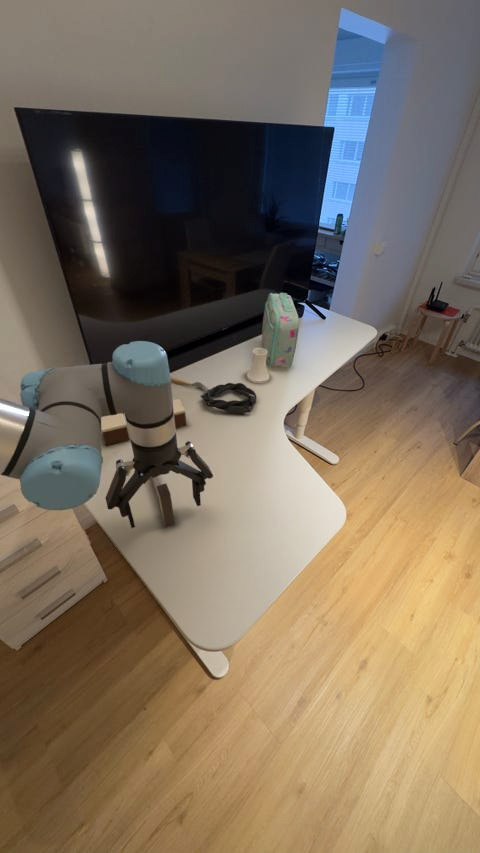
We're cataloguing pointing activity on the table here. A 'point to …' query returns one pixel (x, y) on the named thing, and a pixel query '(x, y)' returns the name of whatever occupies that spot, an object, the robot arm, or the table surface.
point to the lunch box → (280, 330)
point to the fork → (196, 384)
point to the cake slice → (179, 414)
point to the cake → (114, 429)
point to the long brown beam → (164, 502)
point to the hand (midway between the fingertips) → (165, 511)
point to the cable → (232, 405)
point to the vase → (258, 367)
